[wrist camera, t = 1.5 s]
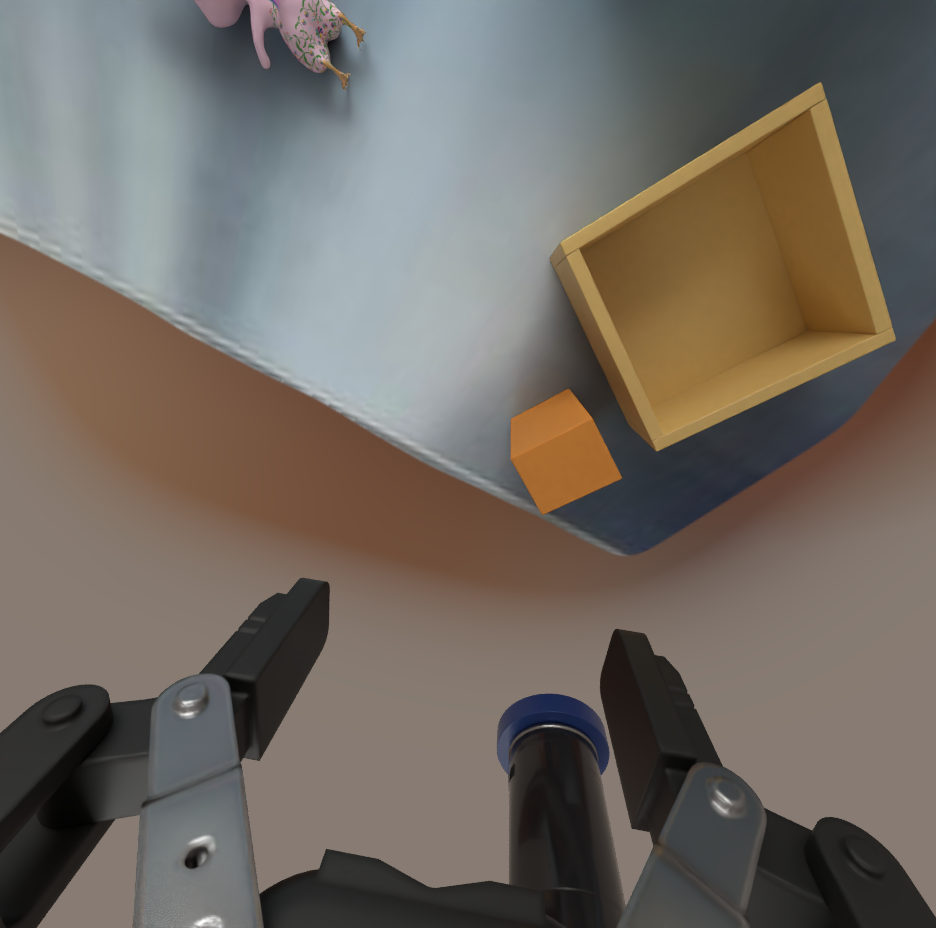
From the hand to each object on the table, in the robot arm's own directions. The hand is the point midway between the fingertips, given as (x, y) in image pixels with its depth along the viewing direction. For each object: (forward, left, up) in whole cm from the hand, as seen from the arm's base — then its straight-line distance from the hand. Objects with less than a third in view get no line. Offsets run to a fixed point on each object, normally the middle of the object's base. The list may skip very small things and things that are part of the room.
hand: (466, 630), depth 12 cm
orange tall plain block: (-2, -4, -24) cm, 24 cm away
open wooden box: (+2, -16, -24) cm, 29 cm away
